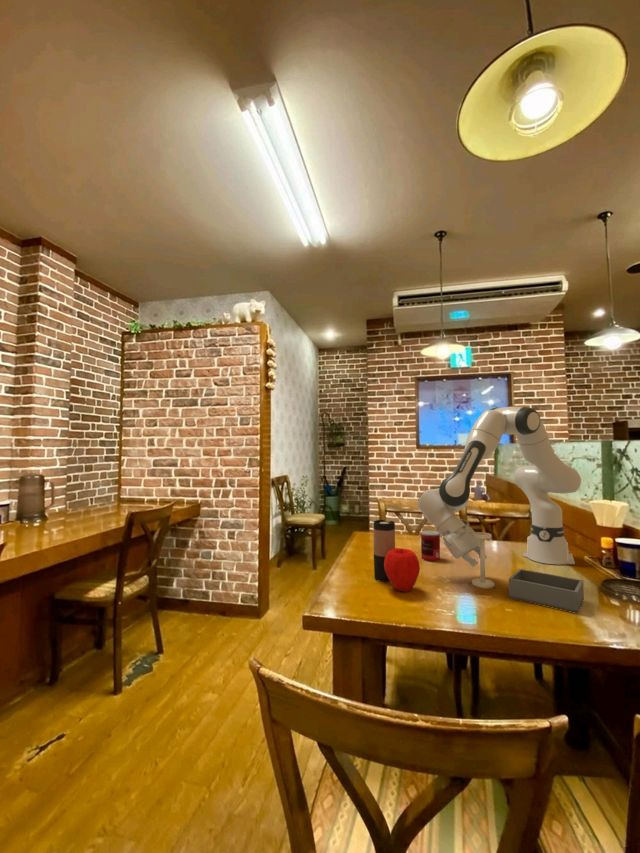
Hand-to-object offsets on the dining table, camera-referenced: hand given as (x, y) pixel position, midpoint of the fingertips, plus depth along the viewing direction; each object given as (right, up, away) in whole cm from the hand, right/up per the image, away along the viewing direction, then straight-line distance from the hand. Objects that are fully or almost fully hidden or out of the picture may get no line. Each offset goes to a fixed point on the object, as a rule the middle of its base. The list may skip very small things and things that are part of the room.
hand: (480, 562), depth 135 cm
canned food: (-9, -9, +30) cm, 33 cm away
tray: (+15, -7, -13) cm, 21 cm away
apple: (-28, -7, -6) cm, 30 cm away
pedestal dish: (+1, -7, -1) cm, 7 cm away
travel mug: (-32, -8, +5) cm, 33 cm away
